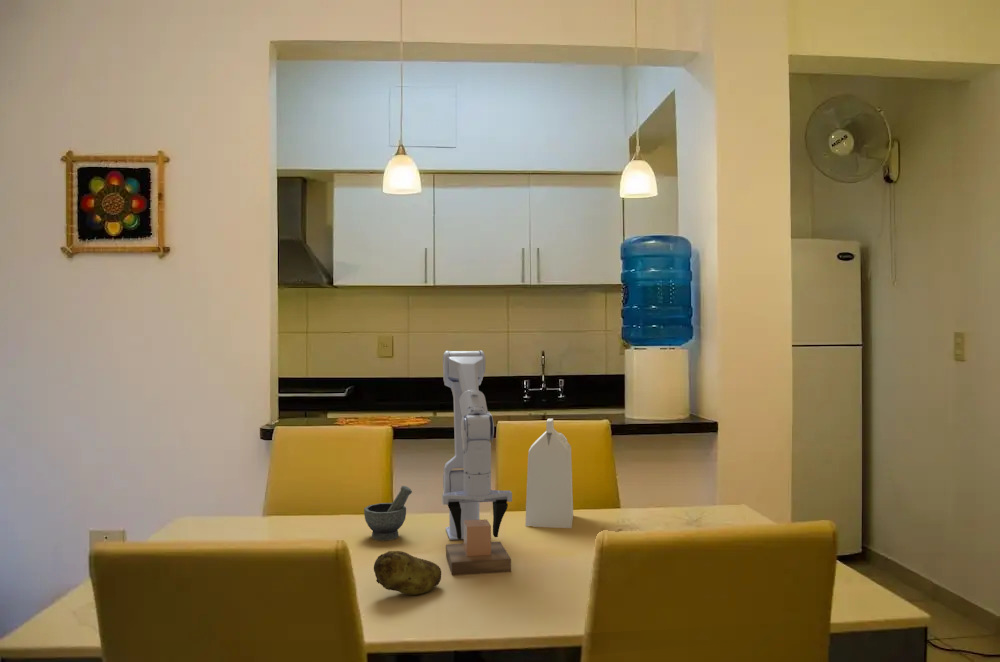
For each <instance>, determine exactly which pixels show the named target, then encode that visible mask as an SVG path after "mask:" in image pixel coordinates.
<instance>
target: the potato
mask: <svg viewBox="0 0 1000 662" xmlns="http://www.w3.org/2000/svg"><path fill="white" fill-rule="evenodd" d="M373 572H374V576H375V578H376V583H377V584H380V585H381V586H382V587H383V588H384V589H385V590H388V591H395V592H399V593H400V594H401V593H402V594H403V595H407V596H408V595H409V596H417V595H423V594H425V593H428V592H430V591H432V590H433V589H434V588H436V587H437V586H438V585H439V584H440V582H441V580H442V569H441V567H440V566H439V565H438V564H437V563H435V562H433V561H430V560H427V559H425V558H424V559H423V558H419V557H418V556H413V555H411V554H409V553H408V552H406V551H401V550H391V551H390V550H389V551H387V552H385V553H382V554H380V555H379V556H377V558H376V560H375V561H374V565H373Z"/></svg>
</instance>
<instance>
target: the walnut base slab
mask: <svg viewBox="0 0 1000 662" xmlns="http://www.w3.org/2000/svg"><path fill="white" fill-rule="evenodd" d="M445 558H446V561H447V563H448V564H447V565H448V568H449V571H450V574H451V576H456V575H459V576H461V575H475V574H489V573H490V574H491V573H492V574H493V573H505V572H507V573H509V572H512V558H511V556H510V555H509V553H508V552H507V550H506V549H505V547H504V545H503V544H502V542H501V541H491V555H479V556H467V555H466V553H465V551H464V543H453V544H452V543H451V544H445ZM460 574H461V575H460Z"/></svg>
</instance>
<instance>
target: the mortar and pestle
mask: <svg viewBox="0 0 1000 662" xmlns="http://www.w3.org/2000/svg"><path fill="white" fill-rule="evenodd" d="M412 493H413V491H412V489H411V488H410V487H409V486H406V485H401V487H400V491H399V492H398V493H397V495H396V497H395V499H394V500H393V501H392V502H381V503H379V502H378V503H375V504H370V505H367V506H366V507H364V509H363V511H364V512H363V513H364V521H365V522H366V524H367V527H369V529H370V530H371V531H372V533H371V538H372V539H373V540H375V541H383V542H384V541H392V540H396V539H397V538H398V537H399V531H398V530H399V529H400V528H401V527H402V526H403V524H404V522H405V520H406V516H407V507H406V506H405V505H406V502H407V500H408V498H409V496H410V495H411V494H412Z"/></svg>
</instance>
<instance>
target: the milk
mask: <svg viewBox="0 0 1000 662" xmlns="http://www.w3.org/2000/svg"><path fill="white" fill-rule="evenodd" d="M545 425H546V429H545V431H544V432H543V433H542V434H541V435H540V436H539V437H538V438H537V439H536V440H535V441H534V442H533V443H532V444H531V445H530V447H529V449H528V455H527V472H526V473H527V477H526V498H525V499H526V500H525V524H524V526H525V527H527V526H533V528H534V527H535V528H557V529H559V528H561V529H572V528H573V527H572V526H573V520H574V502H573V501H574V500H573V498H574V497H573V467H572V466H573V465H572V464H573V463H572V445H571V444H570V443H569V442H568V438H567V437H566V436H565V434H564V433H562V432H559V431H557V430H556V429H555V426H554V418H547V420H546V424H545Z"/></svg>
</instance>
